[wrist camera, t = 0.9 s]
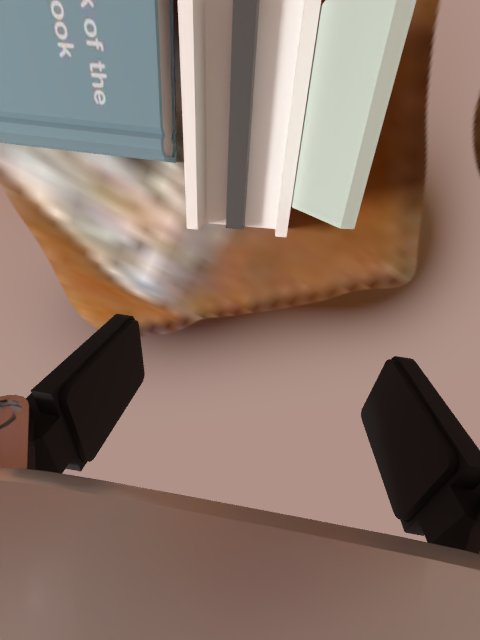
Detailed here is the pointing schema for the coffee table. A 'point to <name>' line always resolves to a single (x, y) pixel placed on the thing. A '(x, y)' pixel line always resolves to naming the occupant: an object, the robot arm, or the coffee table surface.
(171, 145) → the book
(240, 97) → the white channel
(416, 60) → the coffee table surface
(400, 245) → the coffee table surface
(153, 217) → the coffee table surface
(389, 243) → the coffee table surface
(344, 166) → the cover
